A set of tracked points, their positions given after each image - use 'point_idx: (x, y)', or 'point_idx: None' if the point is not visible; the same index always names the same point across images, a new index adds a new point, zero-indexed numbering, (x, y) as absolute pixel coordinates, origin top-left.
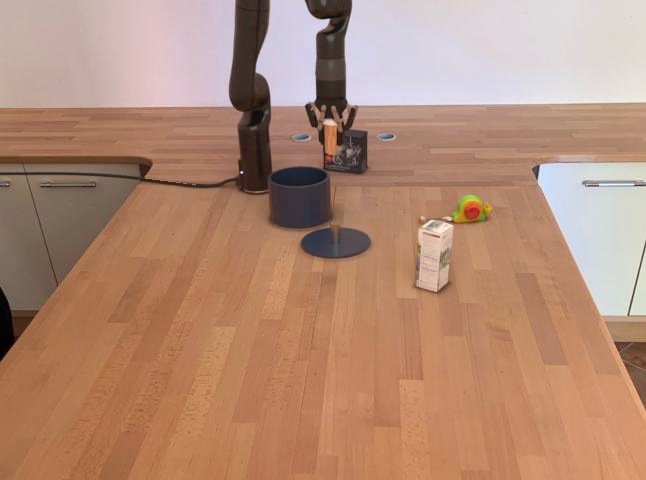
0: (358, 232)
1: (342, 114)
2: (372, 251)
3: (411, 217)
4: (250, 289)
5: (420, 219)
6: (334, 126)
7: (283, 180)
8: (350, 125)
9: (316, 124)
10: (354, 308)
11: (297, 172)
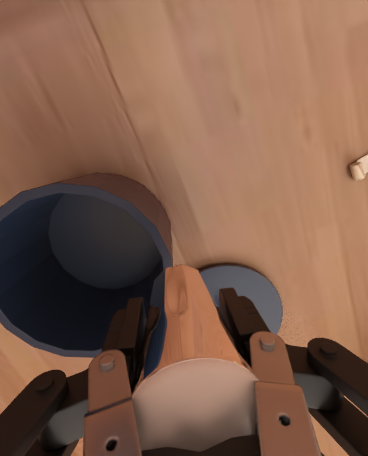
0: (250, 277)
1: (313, 442)
2: (286, 313)
3: (326, 152)
4: None
5: (353, 175)
6: None
7: (12, 231)
8: (358, 416)
9: (81, 430)
10: None
11: (30, 202)
